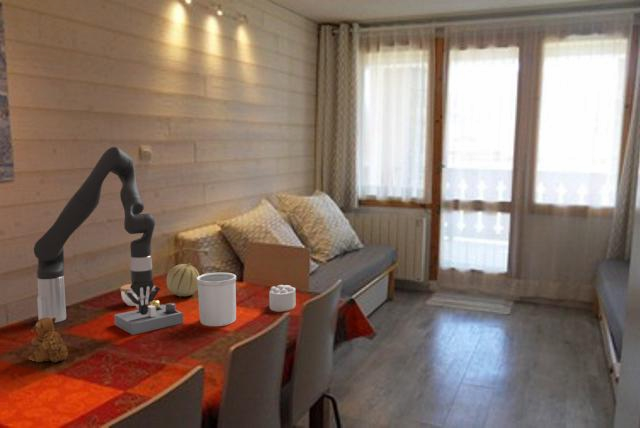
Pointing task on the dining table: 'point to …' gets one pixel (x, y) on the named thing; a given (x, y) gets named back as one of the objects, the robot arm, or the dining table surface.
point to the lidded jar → (124, 297)
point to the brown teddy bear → (48, 342)
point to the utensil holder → (217, 298)
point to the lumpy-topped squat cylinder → (282, 298)
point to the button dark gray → (170, 307)
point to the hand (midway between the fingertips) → (143, 314)
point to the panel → (147, 320)
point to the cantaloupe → (183, 280)
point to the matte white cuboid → (151, 311)
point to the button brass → (155, 304)
